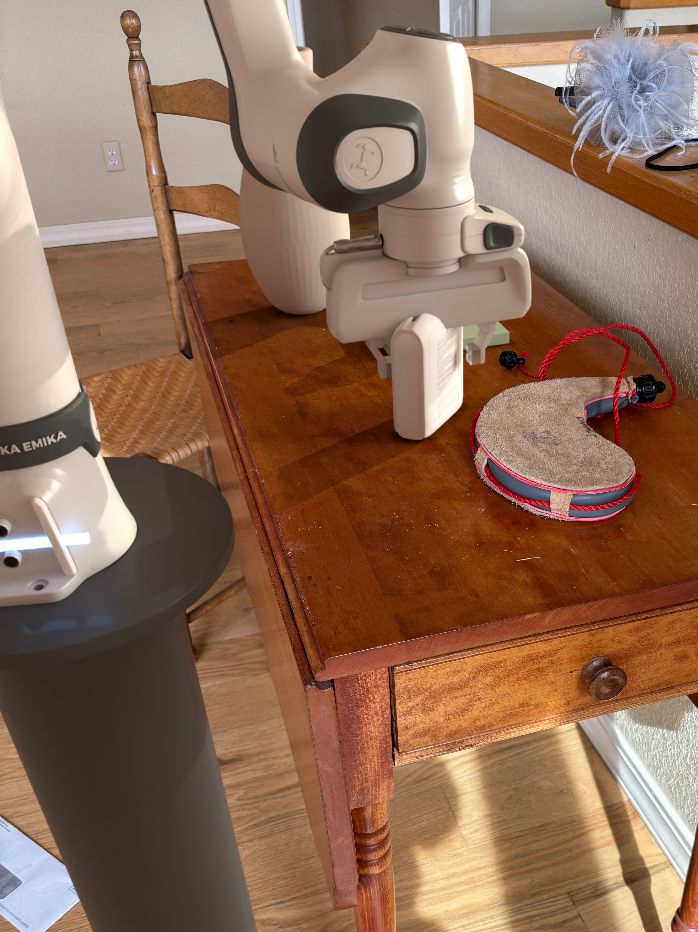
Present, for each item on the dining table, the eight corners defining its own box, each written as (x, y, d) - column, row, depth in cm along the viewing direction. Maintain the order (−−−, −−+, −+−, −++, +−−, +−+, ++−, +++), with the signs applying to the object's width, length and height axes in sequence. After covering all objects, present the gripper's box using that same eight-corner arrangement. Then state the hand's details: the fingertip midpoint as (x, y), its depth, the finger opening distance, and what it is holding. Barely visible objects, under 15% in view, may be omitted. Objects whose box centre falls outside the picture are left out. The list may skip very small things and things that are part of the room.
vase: (363, 291, 129) (347, 41, 111) (344, 328, 118) (323, 58, 100) (266, 289, 130) (234, 41, 112) (239, 325, 119) (199, 57, 101)
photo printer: (432, 397, 102) (430, 284, 95) (468, 404, 101) (468, 290, 93) (388, 437, 95) (382, 318, 87) (426, 445, 93) (423, 325, 86)
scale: (386, 361, 110) (385, 337, 108) (358, 322, 120) (357, 299, 118) (510, 344, 114) (510, 320, 112) (473, 307, 124) (473, 285, 122)
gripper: (324, 252, 81) (339, 398, 90) (540, 226, 86) (535, 366, 95) (310, 232, 86) (325, 372, 94) (515, 208, 91) (512, 343, 99)
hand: (431, 369), depth 95 cm, fingers open, 8 cm apart
